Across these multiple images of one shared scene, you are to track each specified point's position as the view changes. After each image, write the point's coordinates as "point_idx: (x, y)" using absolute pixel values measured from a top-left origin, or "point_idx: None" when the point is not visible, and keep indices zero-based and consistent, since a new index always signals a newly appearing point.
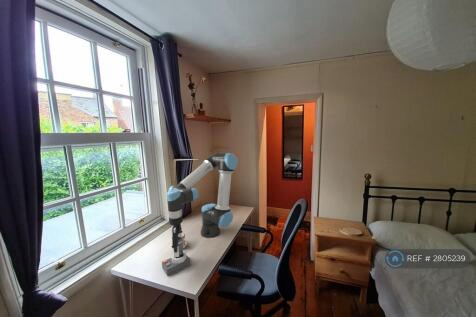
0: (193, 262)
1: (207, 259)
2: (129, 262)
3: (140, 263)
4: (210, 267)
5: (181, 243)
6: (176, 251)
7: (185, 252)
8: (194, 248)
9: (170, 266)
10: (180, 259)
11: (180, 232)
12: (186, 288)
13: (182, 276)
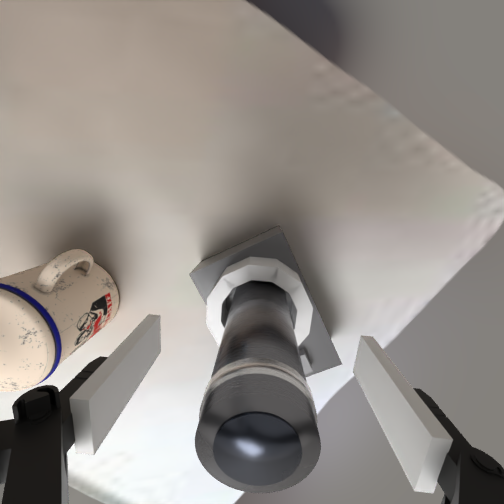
0: (261, 207)
1: (257, 109)
2: (174, 494)
3: (193, 455)
4: (347, 94)
5: (293, 363)
6: (433, 406)
7: (239, 269)
8: (112, 197)
9: (318, 347)
10: (310, 302)
11: (62, 426)
12: (460, 247)
13: (361, 268)
